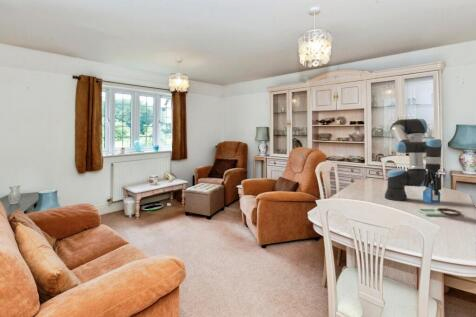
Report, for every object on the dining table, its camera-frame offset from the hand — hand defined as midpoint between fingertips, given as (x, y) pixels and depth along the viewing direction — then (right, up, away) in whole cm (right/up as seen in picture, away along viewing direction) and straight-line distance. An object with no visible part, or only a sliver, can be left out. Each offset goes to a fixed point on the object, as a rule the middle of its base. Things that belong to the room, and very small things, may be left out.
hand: (431, 198), depth 158 cm
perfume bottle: (0, -2, 0) cm, 2 cm away
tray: (0, -10, +1) cm, 10 cm away
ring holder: (+12, -10, +1) cm, 15 cm away
